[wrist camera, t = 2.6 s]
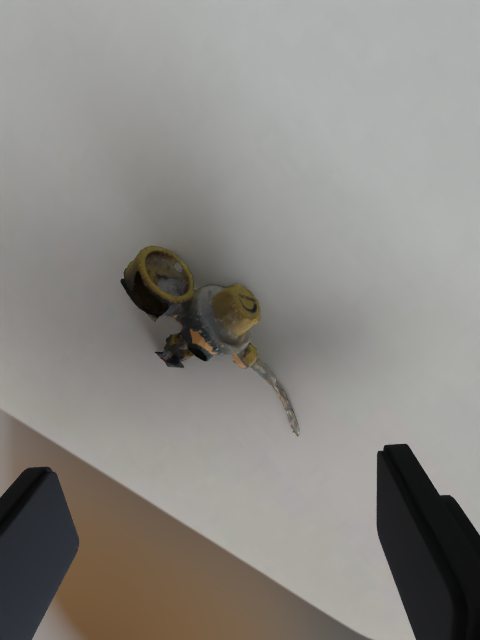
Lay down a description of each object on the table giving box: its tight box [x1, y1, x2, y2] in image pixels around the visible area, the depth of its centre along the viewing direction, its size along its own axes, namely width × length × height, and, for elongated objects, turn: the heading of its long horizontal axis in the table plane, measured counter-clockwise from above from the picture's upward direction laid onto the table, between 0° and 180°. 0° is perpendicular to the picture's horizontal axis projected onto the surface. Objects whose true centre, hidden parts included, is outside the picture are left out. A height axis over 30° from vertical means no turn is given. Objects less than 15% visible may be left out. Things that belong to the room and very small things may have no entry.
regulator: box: [121, 246, 299, 436], centre depth 20 cm, size 8×4×15 cm
